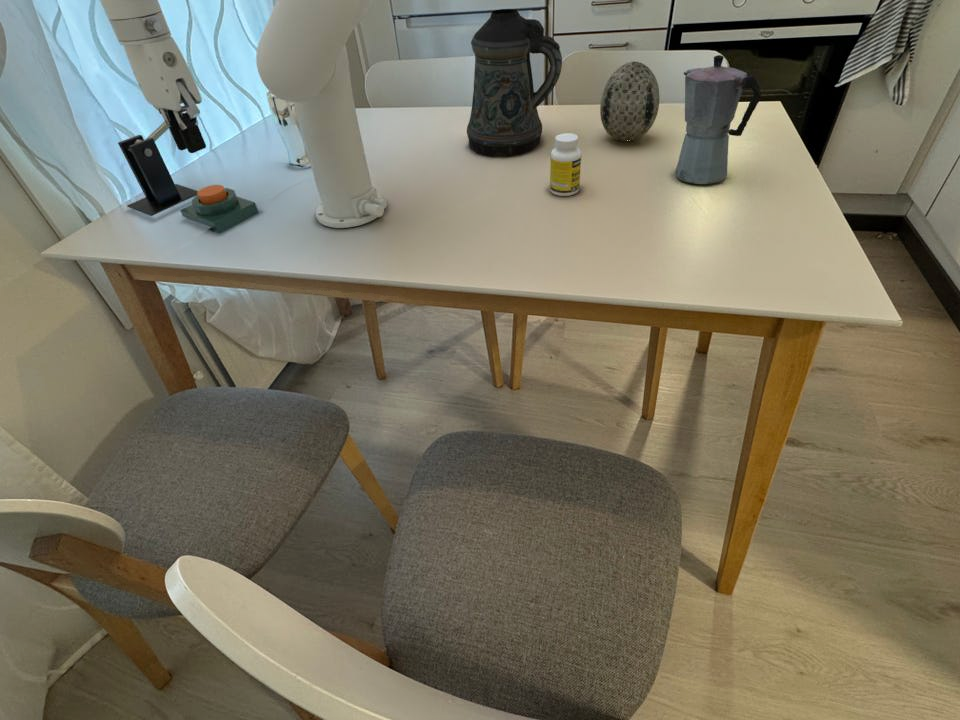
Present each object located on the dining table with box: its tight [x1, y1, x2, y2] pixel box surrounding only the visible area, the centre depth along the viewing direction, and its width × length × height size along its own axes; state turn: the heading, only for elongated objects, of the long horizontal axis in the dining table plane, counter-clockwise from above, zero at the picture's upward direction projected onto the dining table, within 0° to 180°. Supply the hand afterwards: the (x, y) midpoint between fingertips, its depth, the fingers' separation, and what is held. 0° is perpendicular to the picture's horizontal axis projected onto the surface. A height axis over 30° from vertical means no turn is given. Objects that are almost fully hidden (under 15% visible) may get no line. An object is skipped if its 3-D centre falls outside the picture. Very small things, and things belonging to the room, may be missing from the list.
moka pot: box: [675, 54, 762, 185], centre depth 95 cm, size 10×15×20 cm, turn 36°
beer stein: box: [466, 8, 563, 158], centre depth 113 cm, size 16×19×25 cm
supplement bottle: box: [549, 132, 582, 197], centre depth 98 cm, size 5×5×10 cm
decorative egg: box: [599, 61, 660, 143], centre depth 112 cm, size 12×12×15 cm
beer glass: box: [265, 90, 311, 169], centre depth 117 cm, size 7×7×15 cm
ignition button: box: [196, 184, 227, 204], centre depth 102 cm, size 5×5×2 cm
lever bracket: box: [117, 134, 199, 217], centre depth 107 cm, size 11×9×13 cm
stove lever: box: [127, 112, 185, 155], centre depth 105 cm, size 12×6×2 cm, turn 144°
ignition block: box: [180, 187, 259, 235], centre depth 103 cm, size 11×9×4 cm
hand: (192, 148), depth 96 cm, fingers closed
